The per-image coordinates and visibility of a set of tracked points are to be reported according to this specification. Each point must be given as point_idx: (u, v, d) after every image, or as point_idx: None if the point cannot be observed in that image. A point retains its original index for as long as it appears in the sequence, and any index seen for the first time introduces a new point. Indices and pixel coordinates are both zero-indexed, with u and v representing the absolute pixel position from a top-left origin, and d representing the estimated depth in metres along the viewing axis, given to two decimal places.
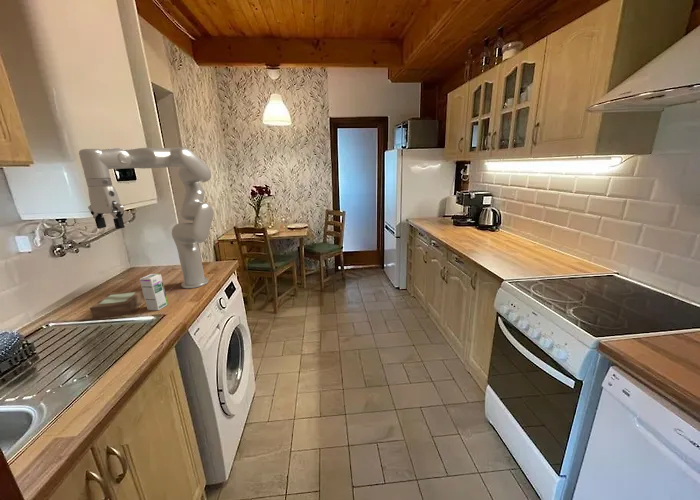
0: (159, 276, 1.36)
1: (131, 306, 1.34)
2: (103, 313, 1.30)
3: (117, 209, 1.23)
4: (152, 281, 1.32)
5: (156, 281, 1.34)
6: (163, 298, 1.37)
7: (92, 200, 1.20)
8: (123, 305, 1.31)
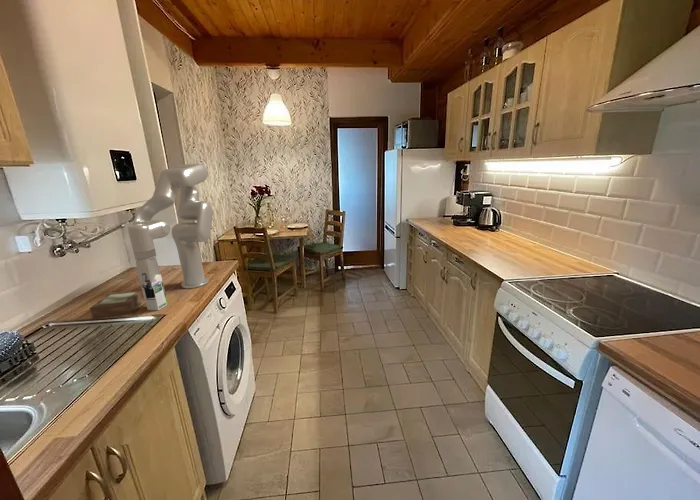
0: (159, 276, 1.36)
1: (131, 306, 1.34)
2: (103, 313, 1.30)
3: None
4: None
5: (156, 281, 1.34)
6: (163, 298, 1.37)
7: (152, 269, 1.31)
8: (123, 305, 1.31)
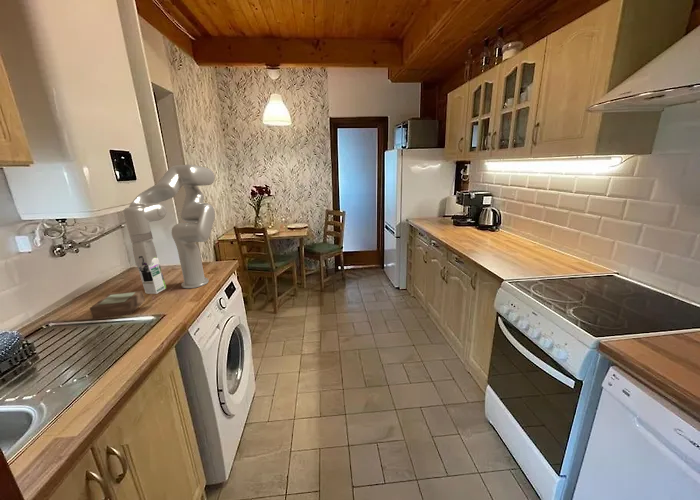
0: (157, 260, 1.34)
1: (131, 306, 1.34)
2: (103, 313, 1.30)
3: None
4: (149, 265, 1.31)
5: (154, 264, 1.33)
6: (161, 282, 1.36)
7: (149, 252, 1.29)
8: (123, 305, 1.31)
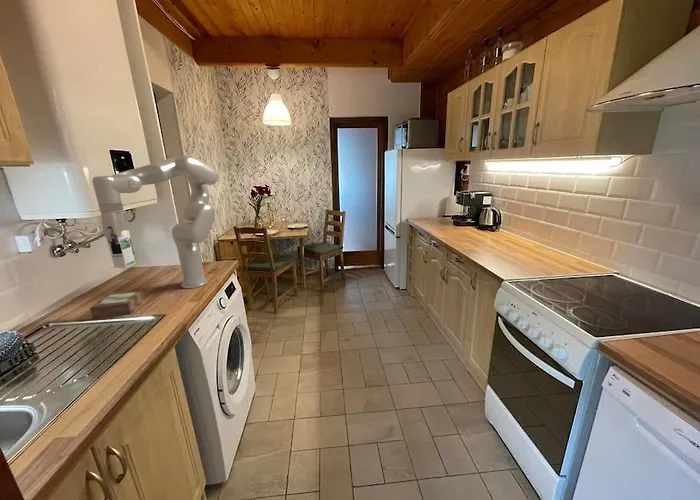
0: (127, 233, 1.30)
1: (131, 306, 1.34)
2: (103, 313, 1.30)
3: None
4: None
5: (124, 237, 1.29)
6: (131, 256, 1.32)
7: (118, 223, 1.26)
8: (123, 305, 1.31)
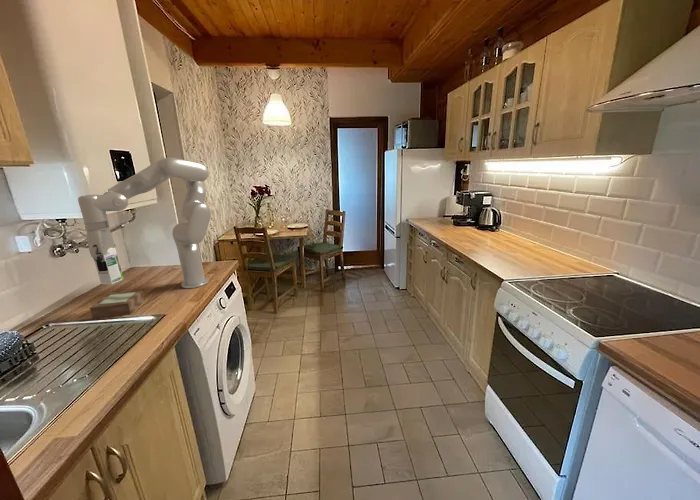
0: (113, 250, 1.32)
1: (131, 306, 1.34)
2: (103, 313, 1.30)
3: None
4: (105, 254, 1.28)
5: (110, 254, 1.30)
6: (117, 272, 1.34)
7: (104, 241, 1.28)
8: (123, 305, 1.31)
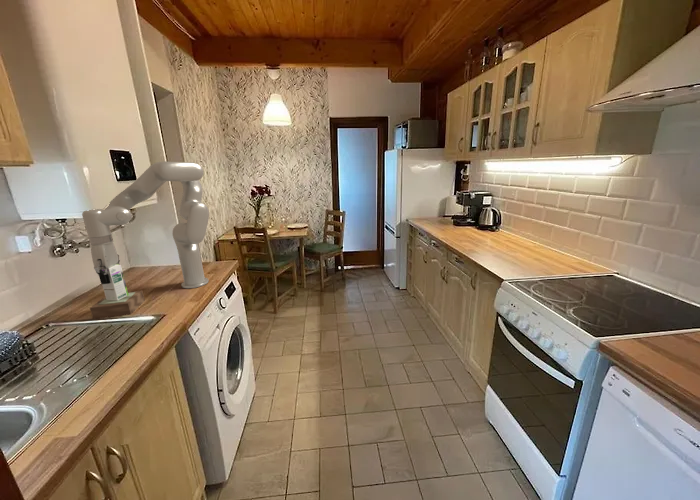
0: (119, 267, 1.34)
1: (131, 306, 1.34)
2: (103, 313, 1.30)
3: None
4: (111, 271, 1.31)
5: (116, 271, 1.33)
6: (123, 288, 1.36)
7: (108, 255, 1.29)
8: (123, 305, 1.31)
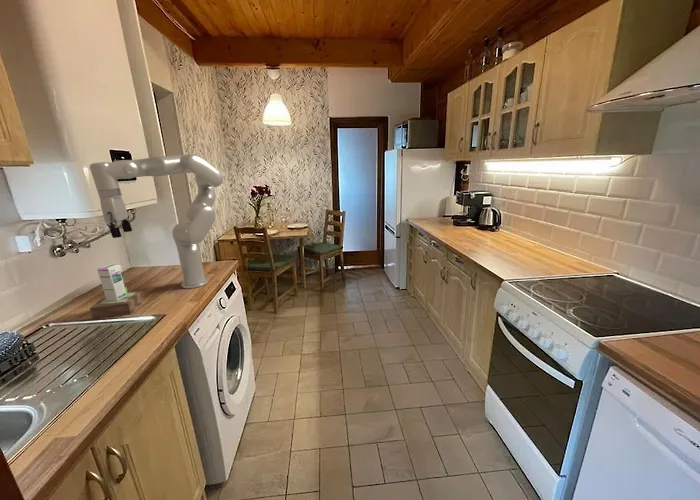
0: (119, 267, 1.34)
1: (131, 306, 1.34)
2: (103, 313, 1.30)
3: None
4: (110, 271, 1.31)
5: (115, 271, 1.33)
6: (123, 288, 1.36)
7: (117, 209, 1.30)
8: (123, 305, 1.31)
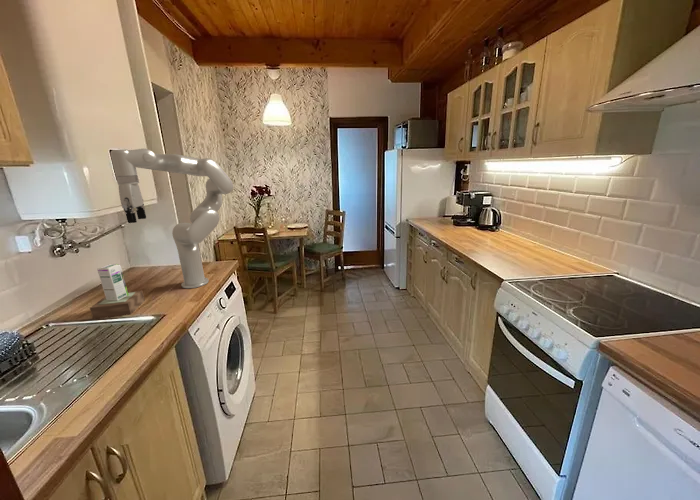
0: (119, 267, 1.34)
1: (131, 306, 1.34)
2: (103, 313, 1.30)
3: None
4: (110, 271, 1.31)
5: (115, 271, 1.33)
6: (123, 288, 1.36)
7: (134, 195, 1.33)
8: (123, 305, 1.31)
